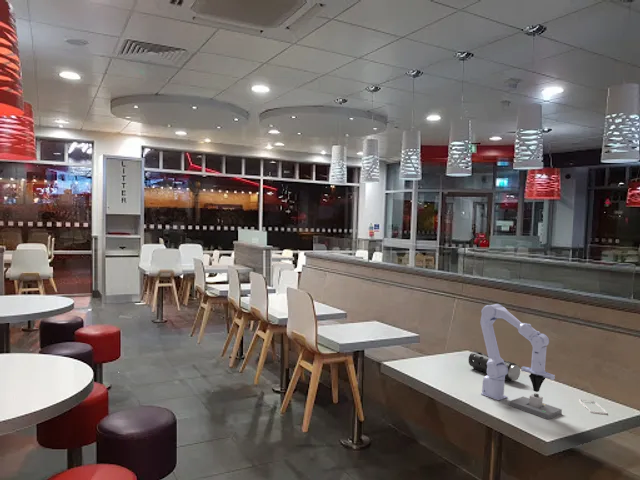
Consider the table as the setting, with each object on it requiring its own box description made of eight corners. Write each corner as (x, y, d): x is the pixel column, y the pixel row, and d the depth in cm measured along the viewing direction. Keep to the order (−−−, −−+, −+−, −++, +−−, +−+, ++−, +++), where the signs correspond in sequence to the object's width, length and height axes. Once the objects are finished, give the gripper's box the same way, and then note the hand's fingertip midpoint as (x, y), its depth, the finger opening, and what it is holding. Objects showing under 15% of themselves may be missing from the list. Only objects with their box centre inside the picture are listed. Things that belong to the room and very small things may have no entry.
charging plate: (509, 405, 218) (509, 400, 218) (522, 400, 226) (523, 396, 226) (548, 419, 204) (548, 414, 204) (561, 413, 212) (561, 409, 212)
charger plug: (528, 408, 216) (529, 393, 215) (533, 407, 218) (534, 392, 218) (537, 412, 212) (538, 396, 212) (541, 410, 215) (542, 394, 215)
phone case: (607, 415, 214) (594, 403, 229) (608, 412, 214) (595, 400, 229) (590, 413, 215) (578, 401, 230) (590, 410, 215) (578, 399, 230)
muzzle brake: (478, 367, 278) (480, 349, 278) (520, 382, 254) (521, 363, 254) (467, 369, 273) (468, 351, 273) (508, 384, 249) (510, 365, 249)
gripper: (518, 358, 218) (516, 387, 218) (550, 366, 206) (547, 397, 207) (526, 356, 222) (524, 385, 222) (558, 364, 211) (555, 395, 211)
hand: (536, 391), depth 215 cm, fingers closed
